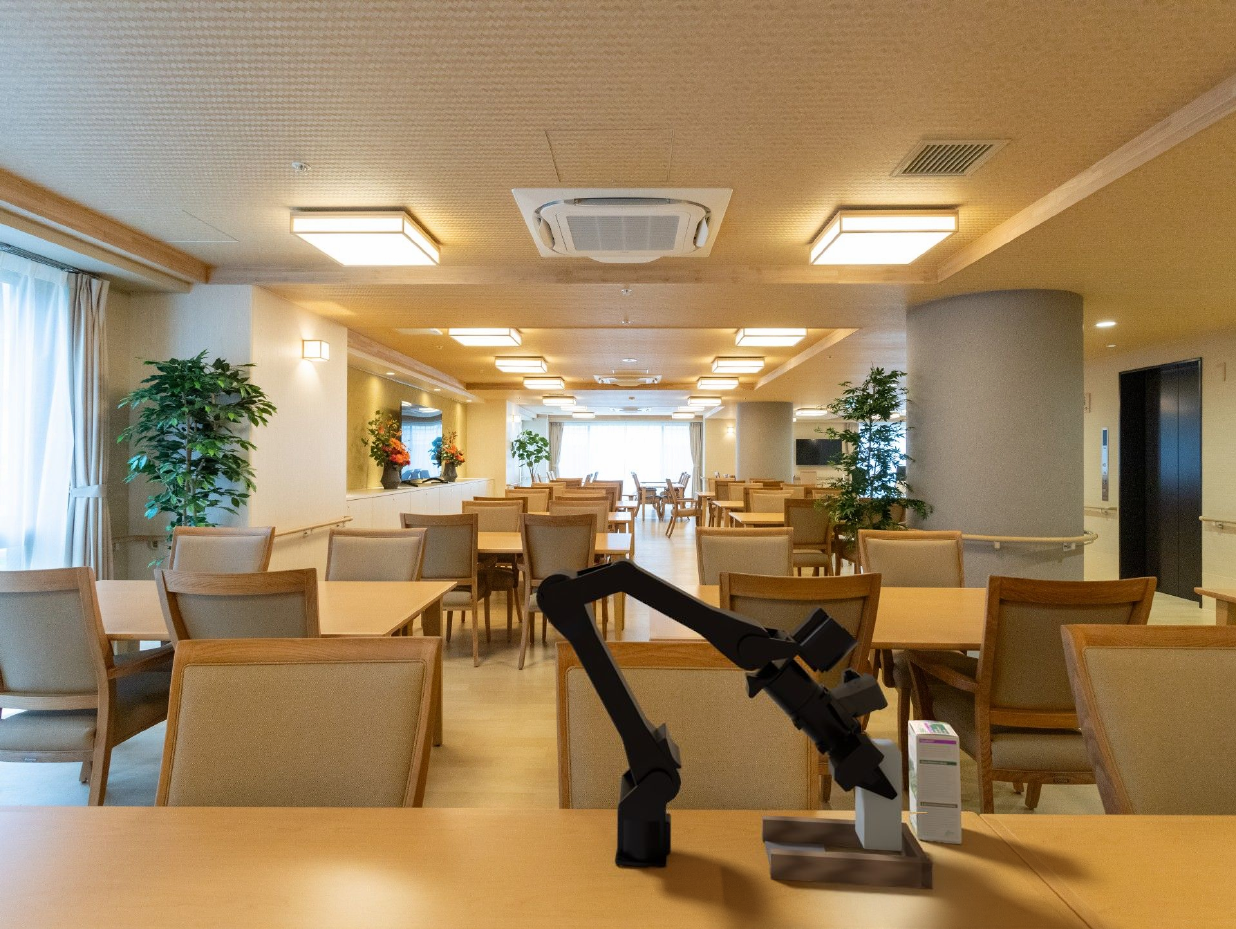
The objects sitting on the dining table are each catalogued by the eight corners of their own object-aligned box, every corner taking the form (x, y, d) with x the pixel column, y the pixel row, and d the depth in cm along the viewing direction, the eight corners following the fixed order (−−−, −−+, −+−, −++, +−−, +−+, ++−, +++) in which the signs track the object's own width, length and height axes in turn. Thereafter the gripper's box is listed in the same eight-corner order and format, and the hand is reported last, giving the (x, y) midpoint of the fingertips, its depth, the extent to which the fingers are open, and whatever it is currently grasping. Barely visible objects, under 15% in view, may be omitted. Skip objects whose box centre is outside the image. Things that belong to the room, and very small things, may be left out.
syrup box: (963, 845, 93) (962, 735, 93) (916, 840, 94) (915, 732, 94) (951, 824, 98) (950, 721, 99) (907, 820, 99) (906, 718, 100)
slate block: (864, 848, 86) (864, 751, 86) (855, 830, 90) (855, 737, 91) (901, 850, 86) (901, 752, 86) (890, 832, 90) (890, 739, 90)
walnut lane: (770, 878, 84) (770, 853, 84) (761, 837, 94) (761, 815, 94) (932, 888, 83) (932, 863, 83) (906, 845, 92) (906, 822, 92)
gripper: (865, 674, 80) (965, 776, 78) (831, 638, 98) (911, 720, 97) (795, 740, 80) (893, 842, 79) (774, 692, 99) (853, 774, 98)
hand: (889, 788), depth 88 cm, fingers closed on slate block, 4 cm apart
